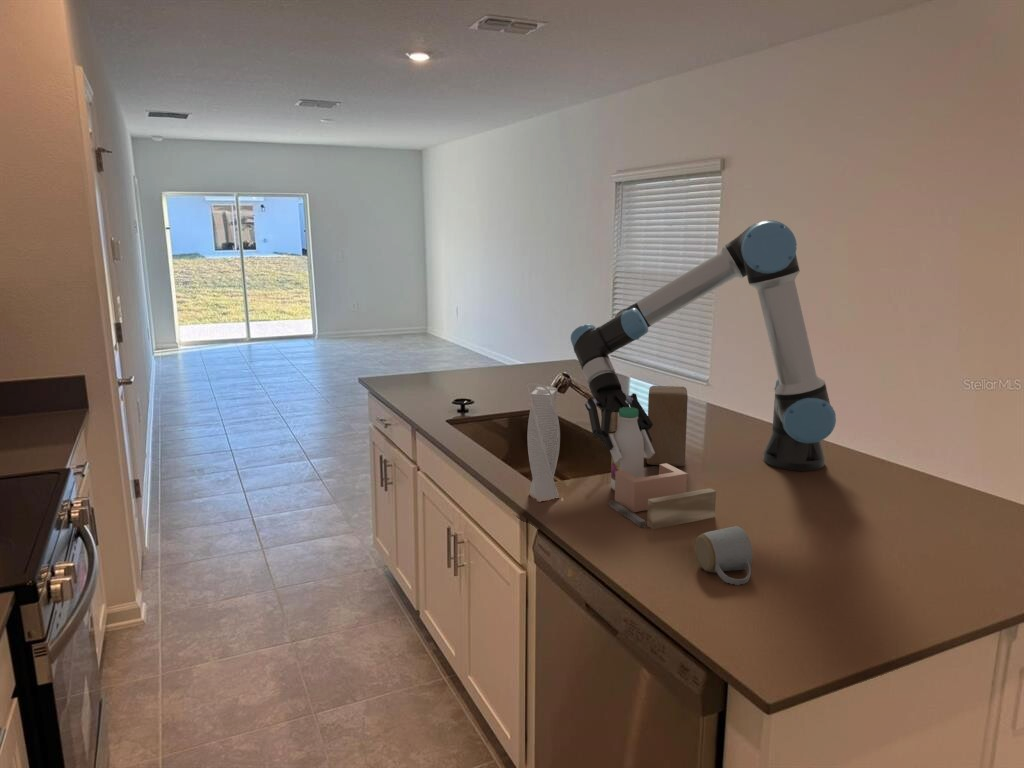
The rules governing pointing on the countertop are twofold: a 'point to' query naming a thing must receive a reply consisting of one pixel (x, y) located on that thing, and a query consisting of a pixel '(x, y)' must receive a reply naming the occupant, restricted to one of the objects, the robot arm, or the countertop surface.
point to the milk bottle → (628, 445)
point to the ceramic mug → (725, 552)
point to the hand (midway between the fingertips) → (635, 458)
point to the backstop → (674, 509)
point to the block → (668, 424)
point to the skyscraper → (543, 441)
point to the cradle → (648, 487)
